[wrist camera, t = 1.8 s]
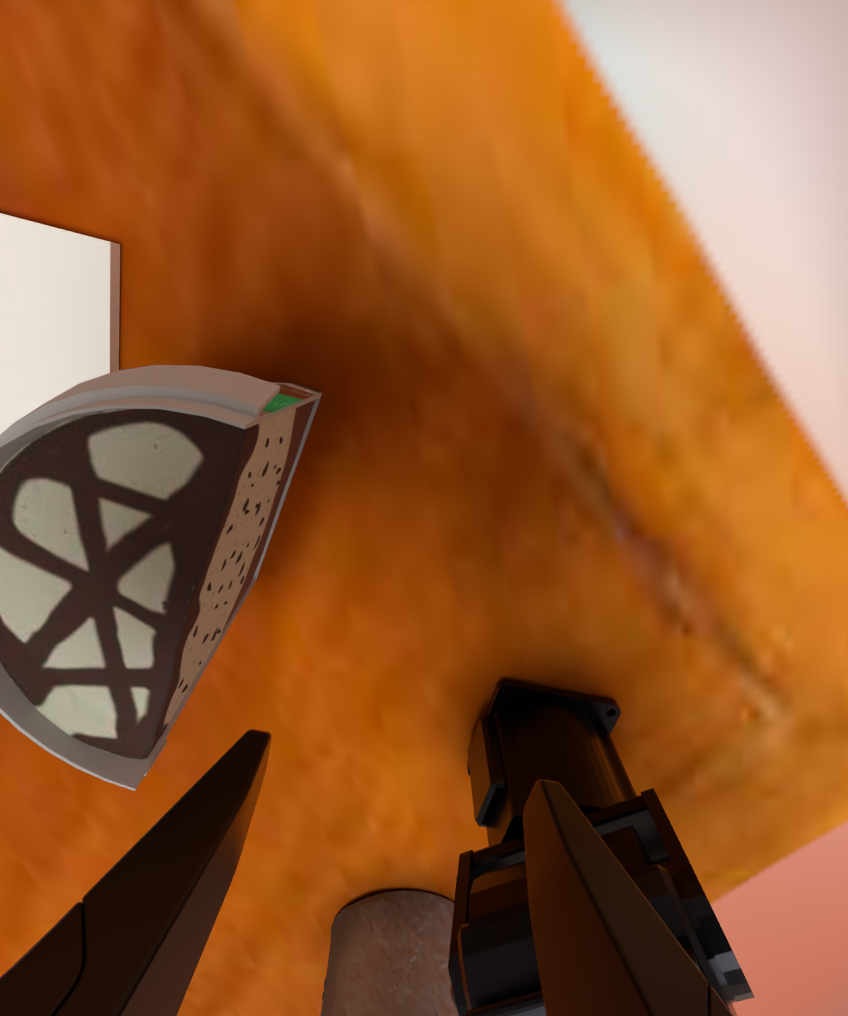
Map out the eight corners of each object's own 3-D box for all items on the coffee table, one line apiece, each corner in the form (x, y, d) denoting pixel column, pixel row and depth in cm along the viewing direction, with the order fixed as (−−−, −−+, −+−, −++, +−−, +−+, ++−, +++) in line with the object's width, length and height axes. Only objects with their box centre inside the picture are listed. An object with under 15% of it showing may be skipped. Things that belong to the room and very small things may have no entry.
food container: (177, 285, 18) (-83, 261, 9) (335, 355, 19) (253, 400, 10) (115, 559, 22) (-105, 739, 13) (247, 605, 23) (131, 803, 14)
